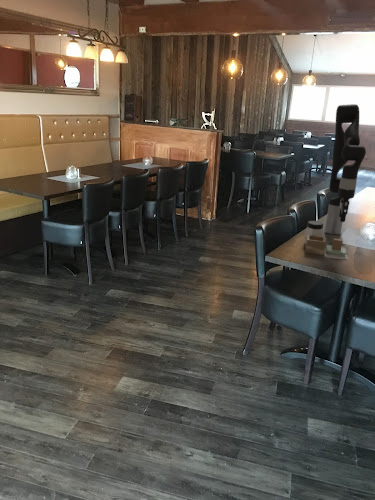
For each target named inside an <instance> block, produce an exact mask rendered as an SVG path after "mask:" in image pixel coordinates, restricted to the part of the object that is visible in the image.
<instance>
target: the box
mask: <svg viewBox="0 0 375 500" xmlns="http://www.w3.org/2000/svg"><path fill="white" fill-rule="evenodd" d="M326 240H327V239H326V236H322V237H321V236H312V235H307V241H306V244H305V252H304V253H305V254H311V255H321V256H325V254H324V250H325V248H326V245H327V244H326Z"/></svg>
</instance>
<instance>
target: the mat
mask: <svg viewBox="0 0 375 500" xmlns="http://www.w3.org/2000/svg"><path fill="white" fill-rule="evenodd" d="M324 258H329V259H337V260H343V261H344V260H345V261H348V254H347V253H346V254H342V256H339V255H332V254H329V252H327V250H326V247H325V250H324Z"/></svg>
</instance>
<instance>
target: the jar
mask: <svg viewBox="0 0 375 500" xmlns="http://www.w3.org/2000/svg"><path fill="white" fill-rule="evenodd" d="M323 231H324V222H322V221H319V220H318V221H317V220H308V222H307V226H306V230H305V235H304V242H303V243H304V244H305V245H306V241H307V235H312V236H321V237H323Z"/></svg>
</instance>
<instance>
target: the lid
mask: <svg viewBox="0 0 375 500" xmlns="http://www.w3.org/2000/svg"><path fill="white" fill-rule="evenodd" d="M331 243H332V244H331V245H329V244H325V248H326V250H327V252H329V254H332V255H339V256H342V254H347V249H346V246H343V239H342V238H332V242H331Z"/></svg>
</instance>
